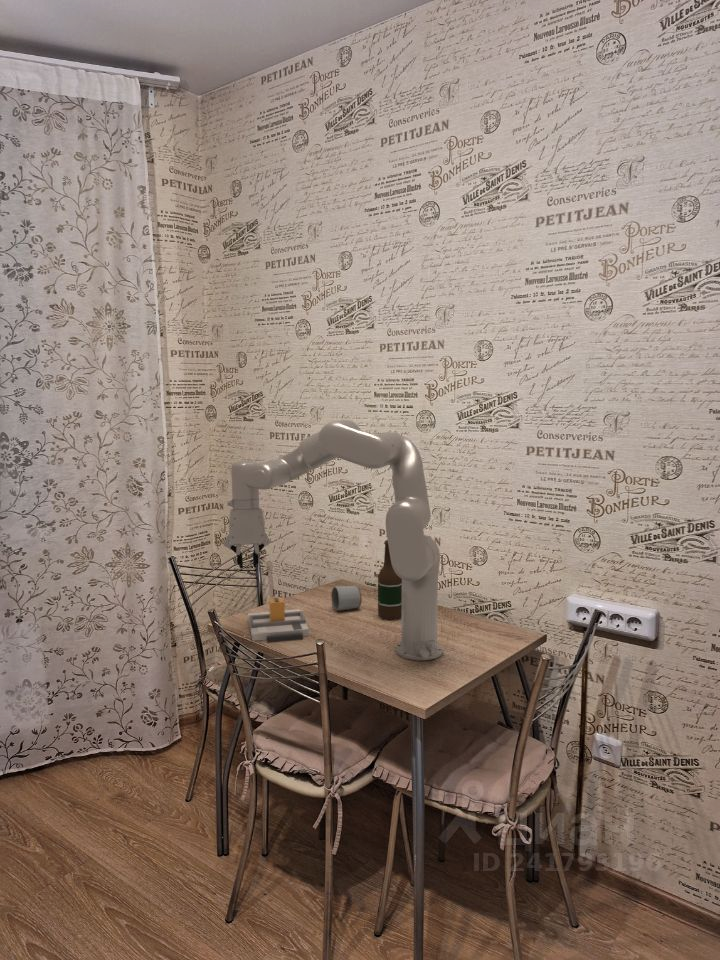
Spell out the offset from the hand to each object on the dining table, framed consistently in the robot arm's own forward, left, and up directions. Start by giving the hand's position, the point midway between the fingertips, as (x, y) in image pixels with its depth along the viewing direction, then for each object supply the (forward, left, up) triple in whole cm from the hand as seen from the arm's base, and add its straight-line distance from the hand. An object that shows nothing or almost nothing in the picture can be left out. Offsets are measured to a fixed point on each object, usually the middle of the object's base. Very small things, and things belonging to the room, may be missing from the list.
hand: (248, 566), depth 197 cm
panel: (0, -8, -19) cm, 21 cm away
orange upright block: (0, -8, -17) cm, 19 cm away
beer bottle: (+1, -43, -19) cm, 47 cm away
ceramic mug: (+13, -31, -20) cm, 39 cm away
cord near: (-11, -9, -19) cm, 24 cm away
